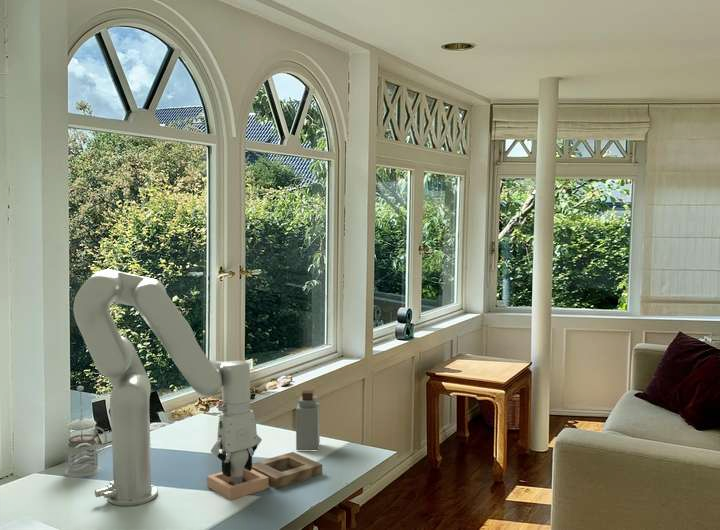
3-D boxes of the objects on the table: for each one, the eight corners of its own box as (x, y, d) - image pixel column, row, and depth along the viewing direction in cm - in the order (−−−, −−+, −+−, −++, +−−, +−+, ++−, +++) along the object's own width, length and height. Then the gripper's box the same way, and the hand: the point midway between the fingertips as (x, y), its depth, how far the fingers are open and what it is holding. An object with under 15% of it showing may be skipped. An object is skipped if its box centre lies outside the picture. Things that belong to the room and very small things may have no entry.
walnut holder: (275, 489, 195) (275, 478, 195) (247, 474, 206) (247, 464, 205) (322, 474, 206) (322, 464, 206) (293, 461, 216) (293, 451, 216)
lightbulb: (236, 490, 192) (236, 450, 191) (221, 485, 196) (220, 445, 195) (253, 483, 197) (253, 444, 196) (237, 478, 201) (237, 439, 200)
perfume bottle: (317, 451, 225) (317, 394, 224) (296, 451, 226) (295, 394, 224) (319, 444, 232) (319, 389, 231) (298, 444, 232) (298, 389, 231)
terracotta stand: (230, 500, 188) (230, 488, 188) (207, 486, 197) (206, 475, 197) (268, 488, 196) (268, 477, 196) (244, 475, 205) (244, 465, 205)
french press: (63, 468, 211) (60, 384, 209) (104, 461, 216) (102, 379, 214) (66, 479, 202) (63, 391, 200) (109, 472, 208) (107, 387, 205)
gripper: (215, 416, 186) (216, 484, 188) (270, 404, 198) (271, 468, 199) (200, 410, 192) (202, 476, 193) (255, 398, 203) (256, 461, 205)
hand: (237, 471), depth 196 cm, fingers closed on lightbulb, 5 cm apart
